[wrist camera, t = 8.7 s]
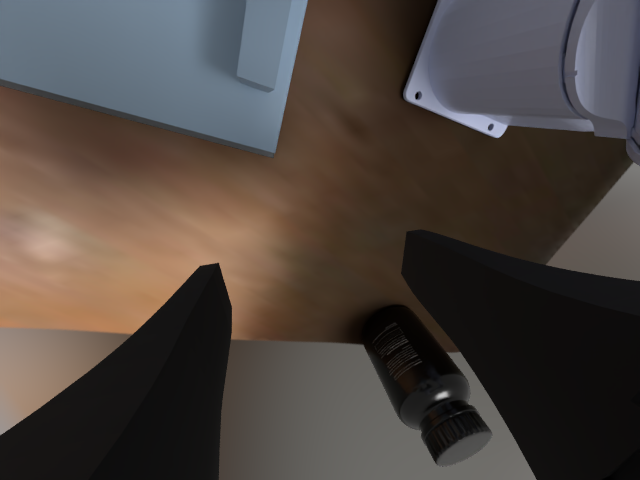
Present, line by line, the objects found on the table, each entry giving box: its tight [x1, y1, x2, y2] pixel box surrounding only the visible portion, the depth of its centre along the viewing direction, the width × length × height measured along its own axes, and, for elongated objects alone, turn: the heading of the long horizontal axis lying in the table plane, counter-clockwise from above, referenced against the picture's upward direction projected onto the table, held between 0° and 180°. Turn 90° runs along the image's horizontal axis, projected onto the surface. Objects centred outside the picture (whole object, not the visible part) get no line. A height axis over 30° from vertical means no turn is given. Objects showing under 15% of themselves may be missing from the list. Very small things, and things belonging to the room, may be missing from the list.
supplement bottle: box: [362, 307, 492, 467], centre depth 24 cm, size 7×7×12 cm
